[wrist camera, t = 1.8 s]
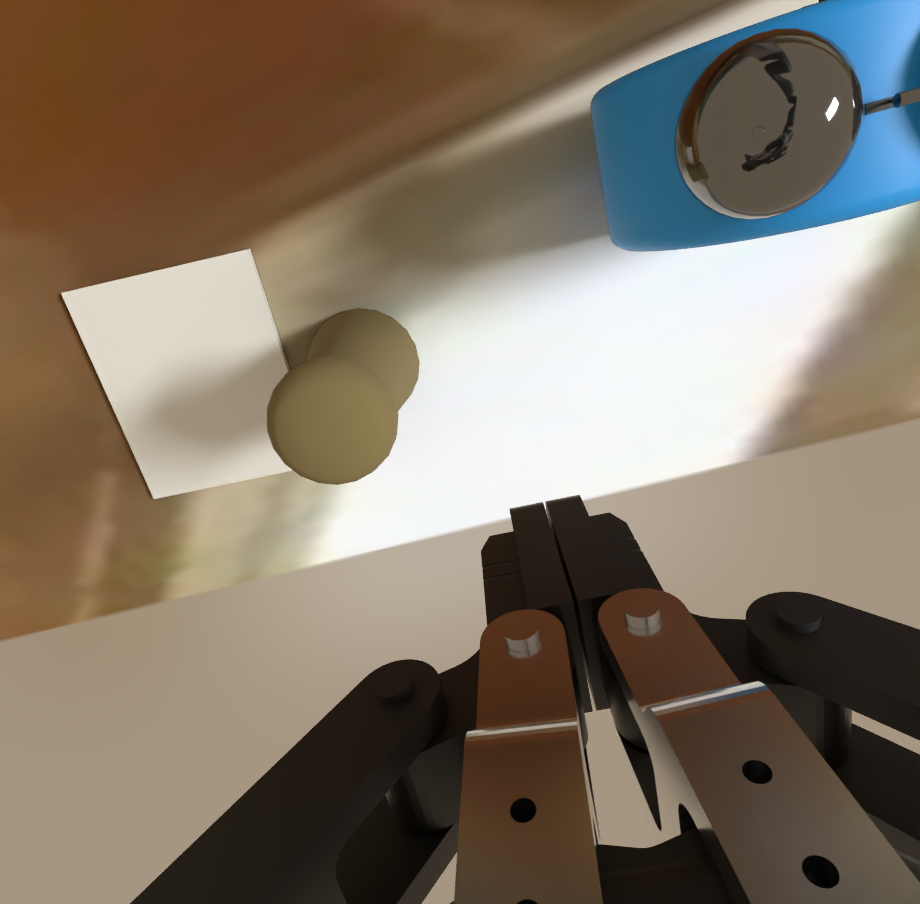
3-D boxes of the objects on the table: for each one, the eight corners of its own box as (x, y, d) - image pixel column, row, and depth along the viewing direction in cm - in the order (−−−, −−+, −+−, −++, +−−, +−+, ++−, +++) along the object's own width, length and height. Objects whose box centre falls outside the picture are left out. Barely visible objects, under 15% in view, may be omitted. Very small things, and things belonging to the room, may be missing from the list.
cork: (316, 420, 34) (259, 511, 24) (300, 311, 32) (230, 361, 22) (423, 414, 34) (411, 503, 24) (415, 305, 32) (398, 353, 22)
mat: (65, 292, 32) (60, 293, 31) (249, 248, 31) (247, 249, 31) (156, 496, 36) (153, 499, 36) (320, 462, 35) (318, 464, 35)
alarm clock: (583, 243, 31) (690, 275, 17) (561, 109, 29) (663, 22, 15) (846, 173, 30) (1186, 148, 16) (844, 28, 28) (1238, -146, 14)
